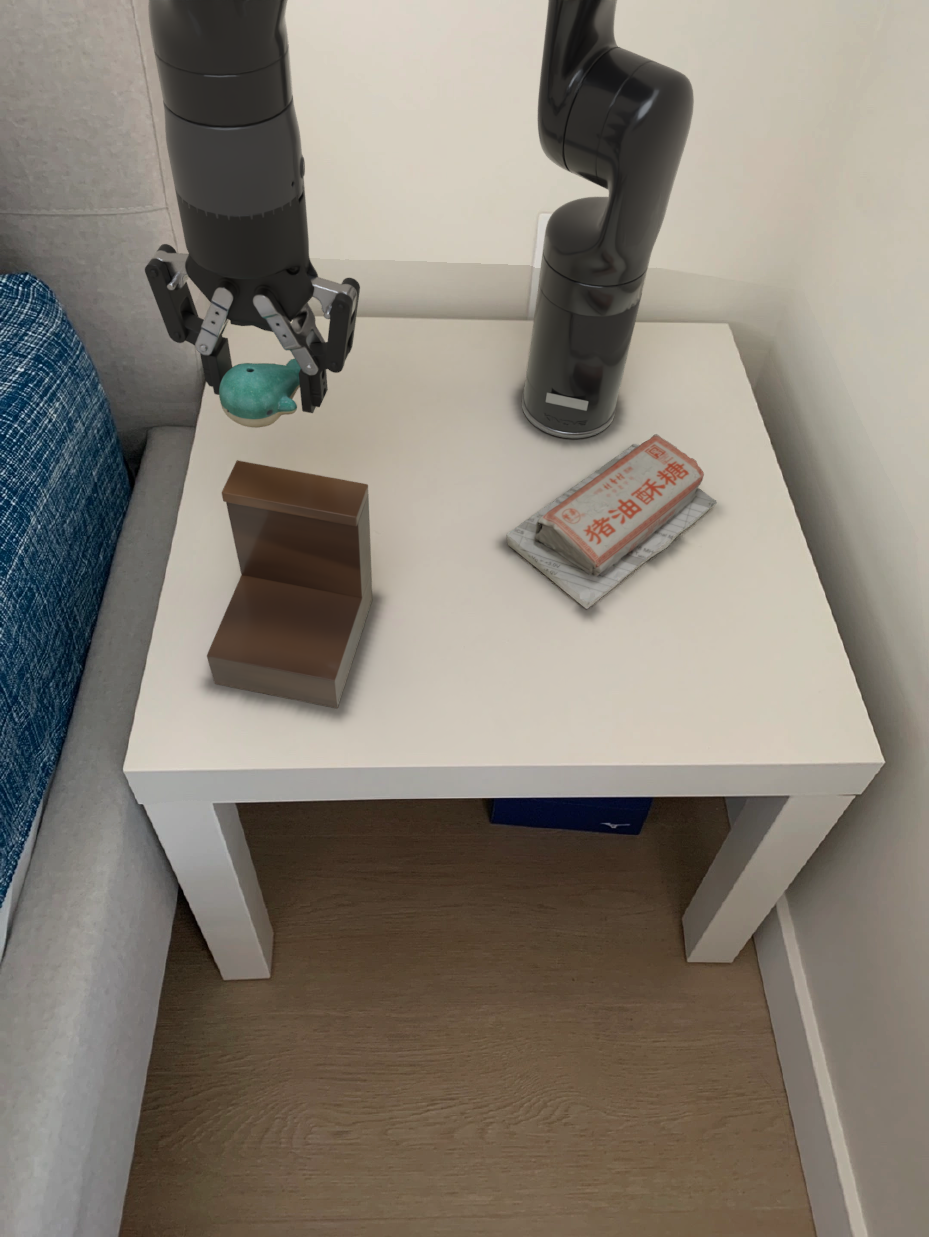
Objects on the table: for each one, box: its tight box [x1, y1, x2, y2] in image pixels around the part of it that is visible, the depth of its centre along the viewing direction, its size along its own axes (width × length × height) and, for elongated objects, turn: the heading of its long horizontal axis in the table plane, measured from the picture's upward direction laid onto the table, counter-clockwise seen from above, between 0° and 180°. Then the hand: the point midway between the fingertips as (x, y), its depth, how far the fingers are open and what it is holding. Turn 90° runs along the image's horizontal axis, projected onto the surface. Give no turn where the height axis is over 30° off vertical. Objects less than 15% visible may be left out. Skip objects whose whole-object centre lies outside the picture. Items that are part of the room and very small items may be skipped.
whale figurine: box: [218, 358, 301, 429], centre depth 70 cm, size 6×7×4 cm
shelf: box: [206, 460, 373, 709], centre depth 74 cm, size 11×10×14 cm
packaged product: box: [506, 433, 718, 610], centre depth 87 cm, size 18×5×10 cm
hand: (268, 396), depth 71 cm, fingers closed on whale figurine, 6 cm apart
